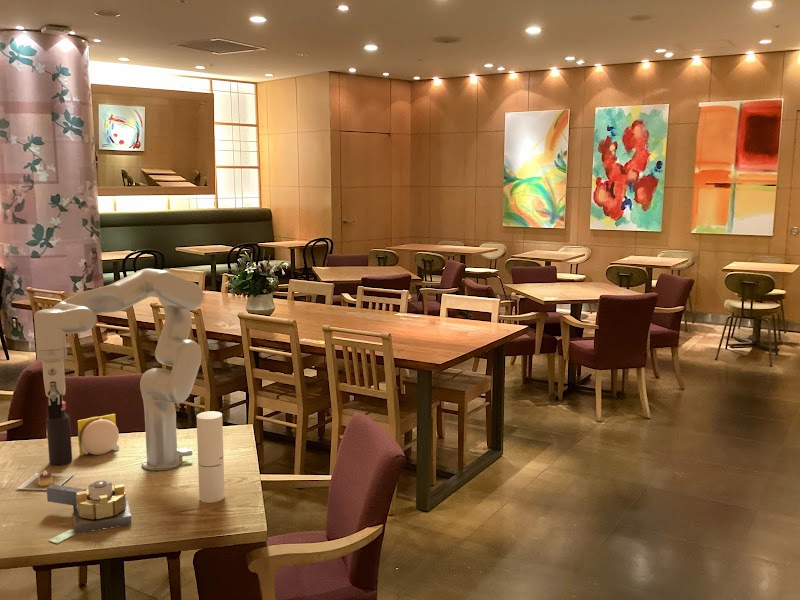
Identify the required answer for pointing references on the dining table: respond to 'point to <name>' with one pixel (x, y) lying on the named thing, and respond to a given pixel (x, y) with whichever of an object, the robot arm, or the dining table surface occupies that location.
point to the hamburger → (98, 435)
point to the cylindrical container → (210, 456)
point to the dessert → (43, 479)
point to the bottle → (59, 439)
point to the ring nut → (89, 501)
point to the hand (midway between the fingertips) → (55, 413)
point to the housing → (95, 524)
